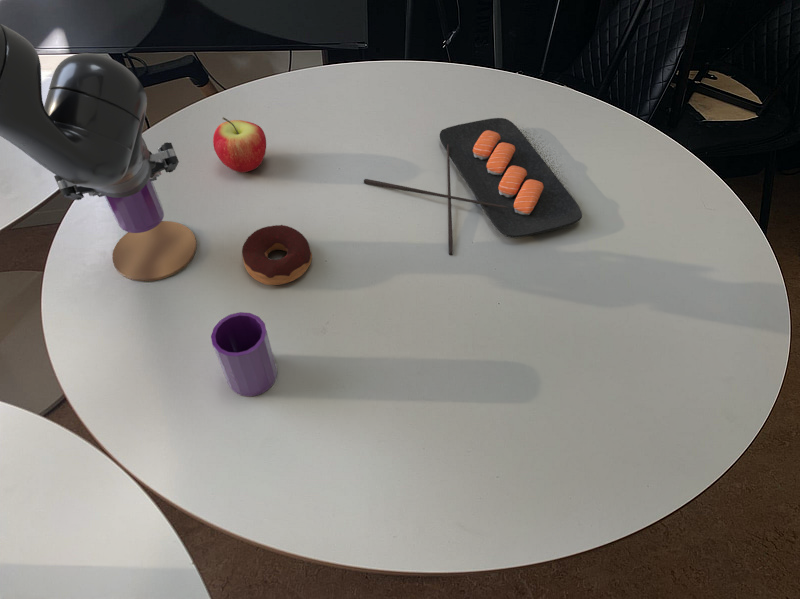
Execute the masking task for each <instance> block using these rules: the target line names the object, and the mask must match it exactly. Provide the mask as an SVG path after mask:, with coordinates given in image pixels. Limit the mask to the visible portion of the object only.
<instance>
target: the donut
mask: <svg viewBox="0 0 800 599" xmlns="http://www.w3.org/2000/svg"><path fill="white" fill-rule="evenodd" d="M277 250H279V251H283V252H286V255H285V256H284V257H281V258H279V259H274V258H269V254H270V253H271V252H273V251H277ZM241 258H242V261H243V265H244V267H245V269H246V270H245V271H247V273H248V275H250V276H251V277H252V278H253V279H254V280H255V281H256V282H259V283H261V284H263V285H266V286H279V285H284V284H288V283H291V282H293V281H295V280H297V279H299V278H300V277H301V276H303V275H304V274H305V273H306V271H307V270H308V268H309V267H310V265H311V263H312V260H313V254H312V251H311V247H310V243H309V242H308V239H307V238H306V237H305V235H303V233H301V232H300V231H299V230H297V229H295V228H293V227H291V226H288V225H283V224H281V225H279V224H278V225H277V224H275V225H267V226H264V227H261V228H258V229H257V230H255V231H254V232H252V233H251V234H249V235H248V236H247V238H246V239H245V241H244V243H243V246H242V249H241Z"/></svg>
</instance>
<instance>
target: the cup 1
mask: <svg viewBox="0 0 800 599" xmlns="http://www.w3.org/2000/svg"><path fill="white" fill-rule="evenodd" d="M103 197H104V199H105V201H106V203H107V205H108V207H109V209H110V211H111V213H112V215H113V217H114V219H115V221H116V223H117V224H118V226H119V228H120V229H121V230H122V231H124V232H126V233H128V232H130V233H142V232H146V231H149V230H151V229H153V228H155V227H156V226H157V225H159V224H160V223H161V221H164V217H165V211H164V209H163V205H162V203H161V199H160V198H159V195H158V192H157V190H156V187H155V185H154V181H152V180H151V179H150V180H148V182H147V184H146V185H145V186H144V187H143V188H142V189H141V190H140V191H139V192H137V193H135V194H133V195H131V196H128V197H122V198H115V197H109V196H106V195H104V196H103Z"/></svg>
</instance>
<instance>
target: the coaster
mask: <svg viewBox="0 0 800 599" xmlns="http://www.w3.org/2000/svg"><path fill="white" fill-rule="evenodd" d="M197 246H198V243H197V239H196V237H195V234H194V233H193V231H192V230H191V229H190V228H189V227H187V226H186V225H184V224H181V223H179V222H177V221H172V220H171V221H170V220H162V221H161V223H160V224H159V225H157V226H156V227H155V228H153V229H151V230H149V231H146V232H142V233H130V232H126V233H125V234H124V235H123V236H121V237H120V238H119V240H118V241H117V242H116V244H115V246H114V248H113V250H112V254H111V255H112V258H111V260H112V264H113V266H114V268H115V269H116V271H117V272H118V273H119V274H120V275H121V276H123V277H125V278H126V279H130V280H132V281H136V282H156V281H159V280H164V279H166V278H169V277H171V276H173V275H176V274H177V273H179V272H181V271H182V270H183V269H185V268H186V267H187V266H188V265H189V264H190V263H191V262H192V260H193V258H194V257H195V255H196V252H197Z"/></svg>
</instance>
